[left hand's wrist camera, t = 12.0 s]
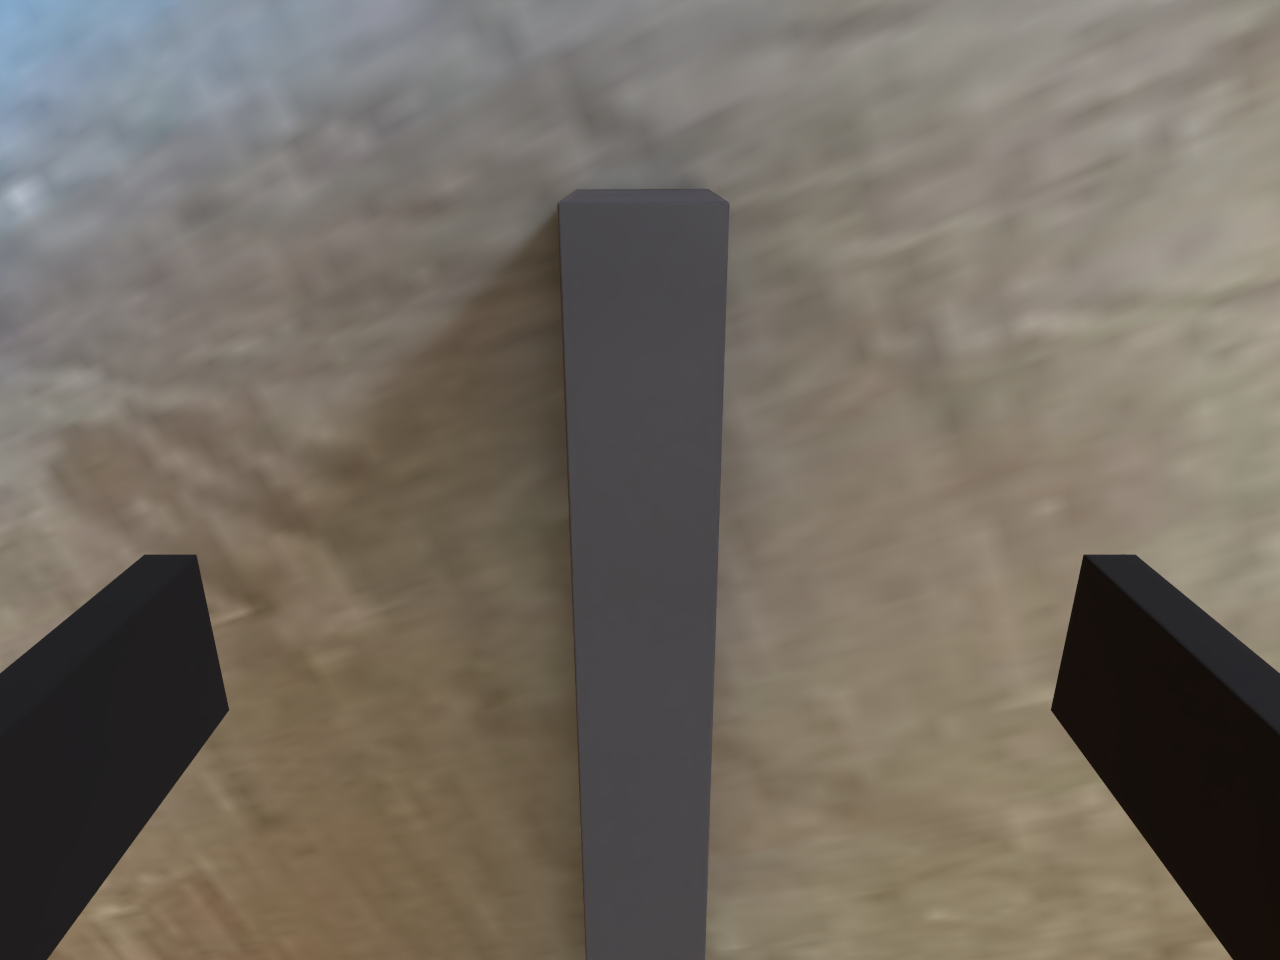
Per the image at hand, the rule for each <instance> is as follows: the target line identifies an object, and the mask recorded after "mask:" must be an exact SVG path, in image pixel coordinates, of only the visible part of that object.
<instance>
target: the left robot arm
mask: <svg viewBox="0 0 1280 960" xmlns="http://www.w3.org/2000/svg"><path fill="white" fill-rule="evenodd" d="M228 711H229V707H228V703H227V698H226V693H225V688H224V684H223V679H222V674H221V669H220V665H219V660H218V655H217V650H216V646H215V641H214V636H213V631H212V627H211V622H210V617H209V612H208V608H207V603H206V598H205V593H204V589H203V584H202V579H201V574H200V570H199V565H198V560H197V555H144V556H142V557H141V558H140V559H139V560H138V561H136V562H135V563H134V564H133V565H132V566H130V567H129V568H128V569H127V570H125V571H124V572H123V573H122V574H121V575H119V576H118V577H117V578H116V579H115V580H113V581H112V582H111V583H110V584H108V585H107V586H106V587H105V588H104V589H102V590H101V591H100V592H99V593H98V594H96V595H95V596H94V597H93V598H91V599H90V600H89V601H88V602H87V603H85V604H84V605H83V606H82V607H80V608H79V609H78V610H77V611H76V612H74V613H73V614H72V615H71V616H70V617H68V618H67V619H66V620H65V621H63V622H62V623H61V624H60V625H59V626H57V627H56V628H55V629H54V630H53V631H51V632H50V633H49V634H48V635H46V636H45V637H44V638H43V639H42V640H40V641H39V642H38V643H37V644H36V645H34V646H33V647H32V648H31V649H29V650H28V651H27V652H26V653H25V654H23V655H22V656H21V657H20V658H18V659H17V660H16V661H15V662H14V663H12V664H11V665H10V666H9V667H8V668H6V669H5V670H4V671H3V672H1V673H0V960H47V959H48V957H49V956H50V955H51V953H52V952H53V951H54V949H55V948H56V946H57V945H58V944H59V942H60V941H61V940H62V938H63V937H64V935H65V934H66V933H67V931H68V930H69V929H70V927H71V926H72V925H73V923H74V922H75V920H76V919H77V918H78V916H79V915H80V914H81V912H82V911H83V909H84V908H85V907H86V905H87V904H88V903H89V901H90V900H91V898H92V897H93V896H94V894H95V893H96V892H97V890H98V889H99V888H100V886H101V885H102V883H103V882H104V881H105V879H106V878H107V877H108V875H109V874H110V872H111V871H112V870H113V868H114V867H115V866H116V864H117V863H118V862H119V860H120V859H121V857H122V856H123V855H124V853H125V852H126V851H127V849H128V848H129V846H130V845H131V844H132V842H133V841H134V840H135V838H136V837H137V835H138V834H139V833H140V831H141V830H142V829H143V827H144V826H145V825H146V823H147V822H148V820H149V819H150V818H151V816H152V815H153V814H154V812H155V811H156V809H157V808H158V807H159V805H160V804H161V803H162V801H163V800H164V798H165V797H166V796H167V794H168V793H169V792H170V790H171V789H172V788H173V786H174V785H175V783H176V782H177V781H178V779H179V778H180V777H181V775H182V774H183V772H184V771H185V770H186V768H187V767H188V766H189V764H190V763H191V762H192V760H193V759H194V757H195V756H196V755H197V753H198V752H199V751H200V749H201V748H202V746H203V745H204V744H205V742H206V741H207V740H208V738H209V737H210V735H211V734H212V733H213V731H214V730H215V729H216V727H217V726H218V725H219V723H220V722H221V720H222V719H223V718H224V716H225V715H226V714H227V712H228ZM1051 711H1052V712H1053V714H1054V715H1055V716H1056V718H1057V719H1058V720H1059V722H1060V723H1061V725H1062V726H1063V727H1064V729H1065V730H1066V731H1067V733H1068V734H1069V735H1070V737H1071V738H1072V740H1073V741H1074V742H1075V744H1076V745H1077V746H1078V748H1079V749H1080V751H1081V752H1082V753H1083V755H1084V756H1085V757H1086V759H1087V760H1088V762H1089V763H1090V764H1091V766H1092V767H1093V768H1094V770H1095V771H1096V772H1097V774H1098V775H1099V777H1100V778H1101V779H1102V781H1103V782H1104V783H1105V785H1106V786H1107V788H1108V789H1109V790H1110V792H1111V793H1112V794H1113V796H1114V797H1115V798H1116V800H1117V801H1118V803H1119V804H1120V805H1121V807H1122V808H1123V809H1124V811H1125V812H1126V814H1127V815H1128V816H1129V818H1130V819H1131V820H1132V822H1133V823H1134V825H1135V826H1136V827H1137V829H1138V830H1139V831H1140V833H1141V834H1142V835H1143V837H1144V838H1145V840H1146V841H1147V842H1148V844H1149V845H1150V846H1151V848H1152V849H1153V851H1154V852H1155V853H1156V855H1157V856H1158V857H1159V859H1160V860H1161V862H1162V863H1163V864H1164V866H1165V867H1166V868H1167V870H1168V871H1169V872H1170V874H1171V875H1172V877H1173V878H1174V879H1175V881H1176V882H1177V883H1178V885H1179V886H1180V888H1181V889H1182V890H1183V892H1184V893H1185V894H1186V896H1187V897H1188V898H1189V900H1190V901H1191V903H1192V904H1193V905H1194V907H1195V908H1196V909H1197V911H1198V912H1199V914H1200V915H1201V916H1202V918H1203V919H1204V920H1205V922H1206V923H1207V925H1208V926H1209V927H1210V929H1211V930H1212V931H1213V933H1214V934H1215V935H1216V937H1217V938H1218V940H1219V941H1220V942H1221V944H1222V945H1223V946H1224V948H1225V949H1226V951H1227V952H1228V953H1229V955H1230V956H1231V957H1232V959H1233V960H1280V673H1279V672H1277V671H1276V670H1275V669H1274V668H1272V667H1271V666H1270V665H1269V664H1268V663H1266V662H1265V661H1264V660H1263V659H1262V658H1260V657H1259V656H1258V655H1257V654H1255V653H1254V652H1253V651H1252V650H1251V649H1249V648H1248V647H1247V646H1246V645H1244V644H1243V643H1242V642H1241V641H1240V640H1238V639H1237V638H1236V637H1235V636H1234V635H1232V634H1231V633H1230V632H1229V631H1227V630H1226V629H1225V628H1224V627H1223V626H1221V625H1220V624H1219V623H1218V622H1217V621H1215V620H1214V619H1213V618H1212V617H1210V616H1209V615H1208V614H1207V613H1206V612H1204V611H1203V610H1202V609H1201V608H1200V607H1198V606H1197V605H1196V604H1195V603H1193V602H1192V601H1191V600H1190V599H1189V598H1187V597H1186V596H1185V595H1184V594H1182V593H1181V592H1180V591H1179V590H1178V589H1176V588H1175V587H1174V586H1173V585H1172V584H1170V583H1169V582H1168V581H1167V580H1165V579H1164V578H1163V577H1162V576H1161V575H1159V574H1158V573H1157V572H1156V571H1155V570H1153V569H1152V568H1151V567H1150V566H1148V565H1147V564H1146V563H1145V562H1144V561H1142V560H1141V559H1140V558H1139V557H1138V556H1136V555H1083V560H1082V565H1081V570H1080V574H1079V579H1078V584H1077V589H1076V593H1075V598H1074V603H1073V608H1072V612H1071V617H1070V622H1069V627H1068V631H1067V636H1066V641H1065V646H1064V650H1063V655H1062V660H1061V665H1060V669H1059V674H1058V679H1057V684H1056V688H1055V693H1054V698H1053V703H1052V707H1051Z"/></svg>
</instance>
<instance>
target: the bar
mask: <svg viewBox="0 0 1280 960" xmlns="http://www.w3.org/2000/svg"><path fill="white" fill-rule="evenodd" d="M728 229H729V202H728V201H726V200H725V199H723V198H721V197H720V196H718V195H717V194H715V193H713V192H712V191H710V190H709V189H616V190H576V191H574V192H573V193H571V194H570V195H569V196H567V197H566V198H564V199H563V200H561V201H560V202H559V203H558V232H559V258H560V285H561V311H562V338H563V364H564V391H565V417H566V444H567V470H568V497H569V523H570V550H571V576H572V603H573V629H574V656H575V682H576V709H577V736H578V762H579V789H580V815H581V842H582V868H583V895H584V921H585V948H586V960H705V939H706V908H707V877H708V847H709V816H710V785H711V754H712V723H713V692H714V661H715V630H716V600H717V569H718V538H719V507H720V476H721V445H722V414H723V383H724V352H725V322H726V291H727V260H728Z"/></svg>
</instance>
